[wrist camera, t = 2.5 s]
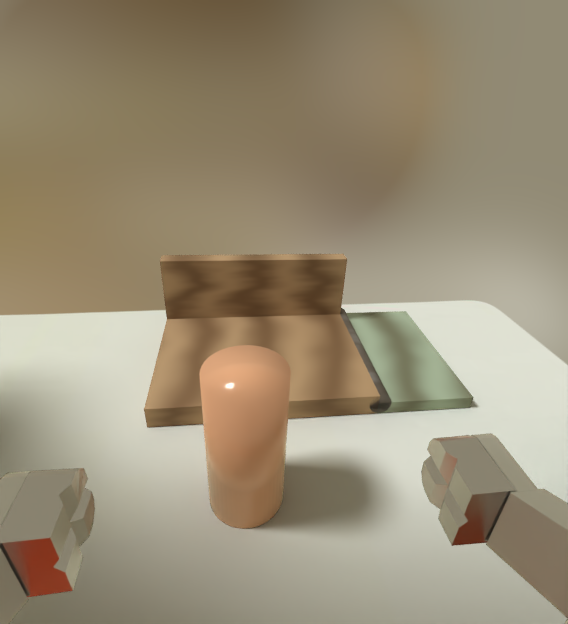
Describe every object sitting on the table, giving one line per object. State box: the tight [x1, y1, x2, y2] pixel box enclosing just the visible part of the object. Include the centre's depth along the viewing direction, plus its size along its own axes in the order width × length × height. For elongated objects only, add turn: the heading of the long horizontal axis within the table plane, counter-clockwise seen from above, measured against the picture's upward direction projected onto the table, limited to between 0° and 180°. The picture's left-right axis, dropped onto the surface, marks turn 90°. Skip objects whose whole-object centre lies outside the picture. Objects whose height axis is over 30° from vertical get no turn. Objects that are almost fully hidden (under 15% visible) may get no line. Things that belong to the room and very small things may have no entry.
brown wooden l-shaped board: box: [144, 254, 473, 427], centre depth 40 cm, size 29×16×9 cm, turn 97°
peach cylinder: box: [200, 345, 291, 528], centre depth 26 cm, size 5×5×11 cm
